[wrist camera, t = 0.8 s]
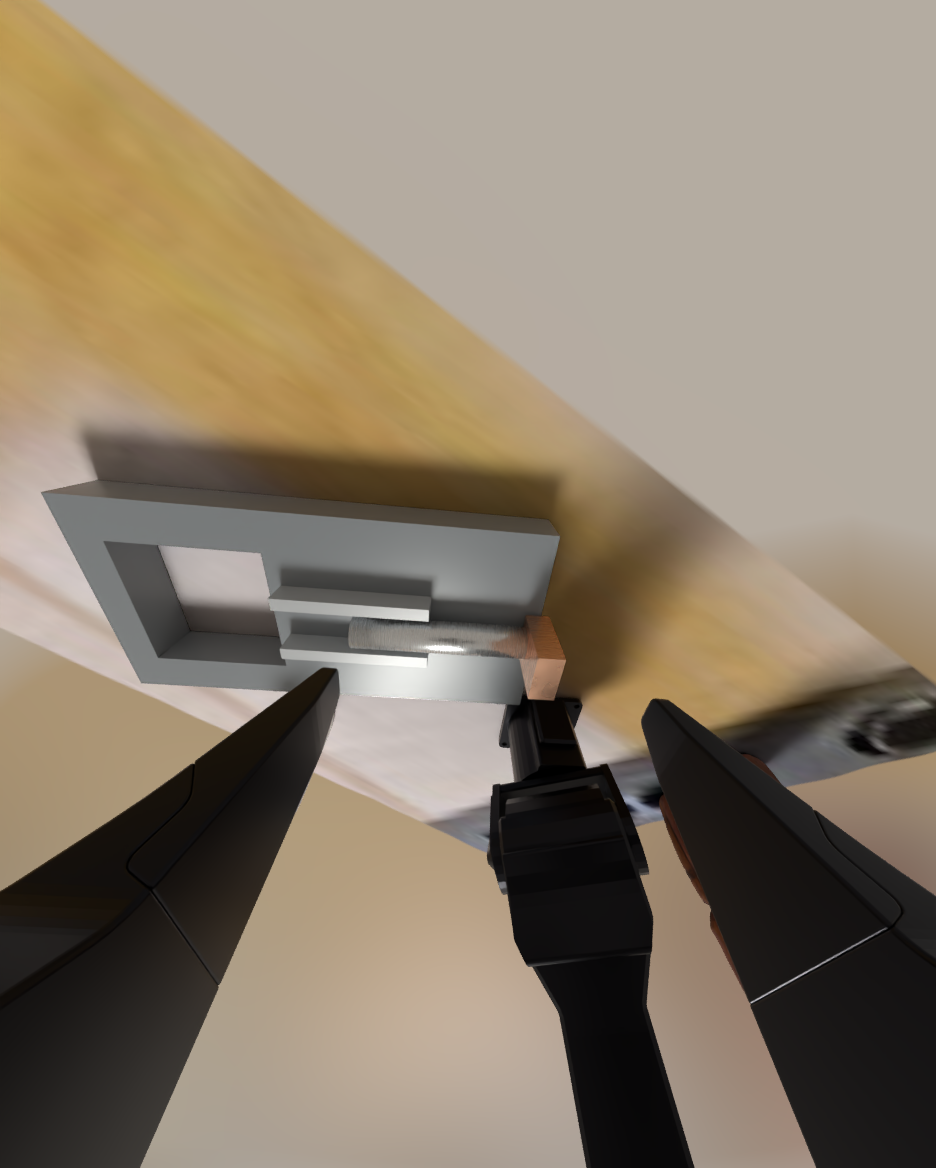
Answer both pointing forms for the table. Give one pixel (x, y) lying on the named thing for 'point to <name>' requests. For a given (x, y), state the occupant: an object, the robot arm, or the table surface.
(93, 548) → the dock block
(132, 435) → the table surface
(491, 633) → the lock pin
